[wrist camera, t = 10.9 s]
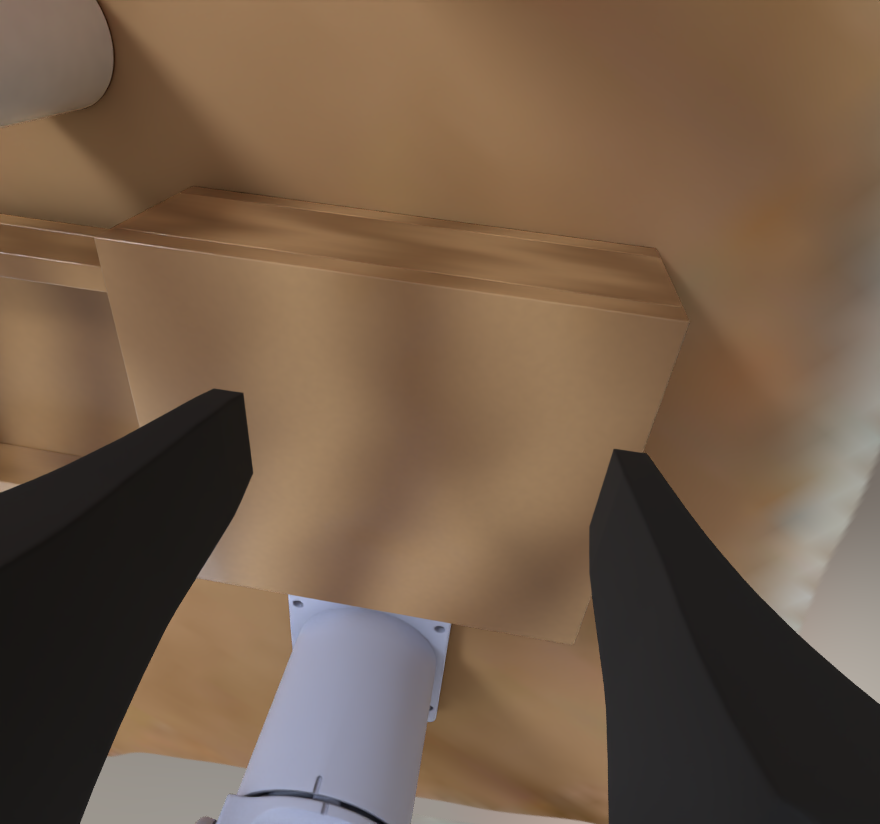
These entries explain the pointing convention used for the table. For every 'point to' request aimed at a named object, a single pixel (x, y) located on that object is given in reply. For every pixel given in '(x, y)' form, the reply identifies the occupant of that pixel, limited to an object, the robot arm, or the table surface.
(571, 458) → the cabinet
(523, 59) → the table surface
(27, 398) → the drawer
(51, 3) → the spice jar
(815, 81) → the table surface
